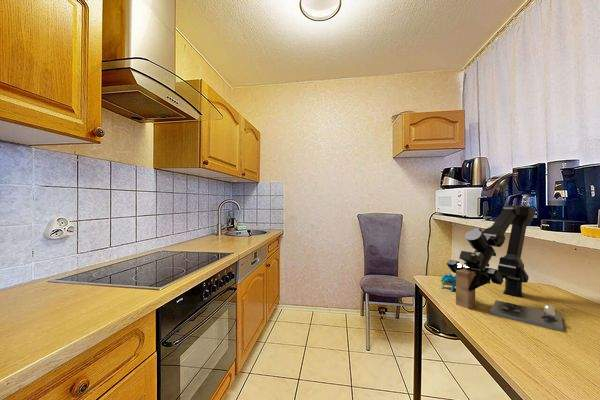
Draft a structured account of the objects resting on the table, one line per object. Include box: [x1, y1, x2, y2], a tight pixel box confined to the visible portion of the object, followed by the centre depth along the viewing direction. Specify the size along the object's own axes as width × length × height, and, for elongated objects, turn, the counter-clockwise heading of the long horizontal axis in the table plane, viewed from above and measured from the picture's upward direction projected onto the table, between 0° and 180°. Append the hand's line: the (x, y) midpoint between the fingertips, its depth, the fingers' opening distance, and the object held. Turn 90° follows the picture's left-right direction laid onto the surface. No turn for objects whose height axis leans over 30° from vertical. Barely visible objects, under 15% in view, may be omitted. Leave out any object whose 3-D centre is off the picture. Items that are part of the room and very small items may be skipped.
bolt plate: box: [489, 299, 564, 333], centre depth 89 cm, size 14×18×5 cm
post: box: [455, 269, 476, 309], centre depth 98 cm, size 4×4×13 cm
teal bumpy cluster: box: [439, 273, 456, 293], centre depth 116 cm, size 11×6×10 cm
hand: (463, 288), depth 98 cm, fingers closed on post, 4 cm apart
